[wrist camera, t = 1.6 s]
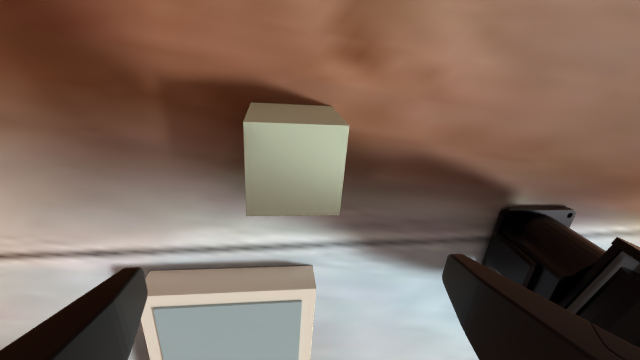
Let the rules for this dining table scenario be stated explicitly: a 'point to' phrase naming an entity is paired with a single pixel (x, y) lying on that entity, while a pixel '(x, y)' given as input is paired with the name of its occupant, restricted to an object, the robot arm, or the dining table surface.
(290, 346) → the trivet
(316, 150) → the cube
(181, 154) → the dining table surface
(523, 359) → the robot arm
